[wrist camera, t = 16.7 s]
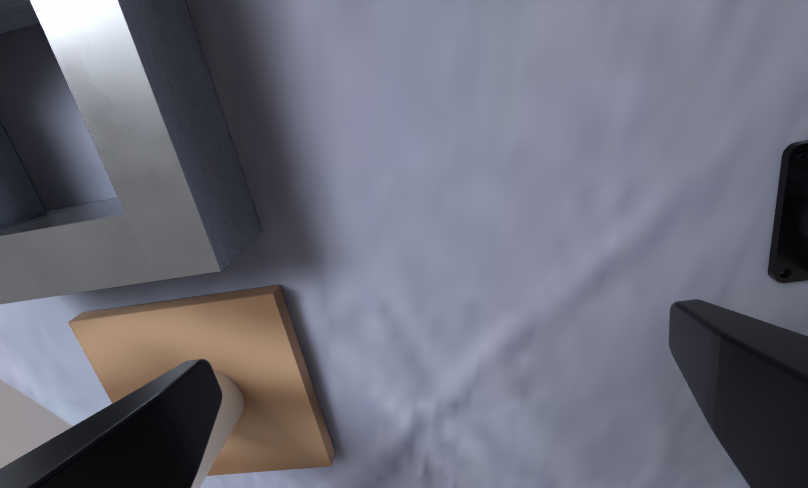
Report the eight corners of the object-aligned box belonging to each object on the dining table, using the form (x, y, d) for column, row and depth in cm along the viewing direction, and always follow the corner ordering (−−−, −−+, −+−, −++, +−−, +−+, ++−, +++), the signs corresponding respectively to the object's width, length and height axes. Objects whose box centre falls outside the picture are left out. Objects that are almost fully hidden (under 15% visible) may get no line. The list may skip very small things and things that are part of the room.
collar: (262, 232, 22) (220, 271, 18) (25, 270, 24) (-61, 313, 20) (152, -99, 17) (60, -151, 13) (-135, -16, 19) (-296, -38, 15)
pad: (335, 452, 27) (331, 466, 27) (163, 466, 29) (154, 479, 28) (279, 284, 23) (272, 293, 22) (81, 312, 25) (68, 322, 24)
